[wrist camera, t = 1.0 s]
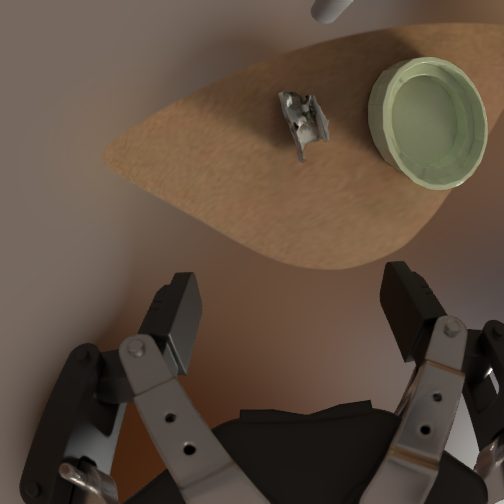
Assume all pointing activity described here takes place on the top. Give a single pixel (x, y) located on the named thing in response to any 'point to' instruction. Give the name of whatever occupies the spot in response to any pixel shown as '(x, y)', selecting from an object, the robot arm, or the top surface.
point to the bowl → (428, 122)
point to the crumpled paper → (304, 119)
